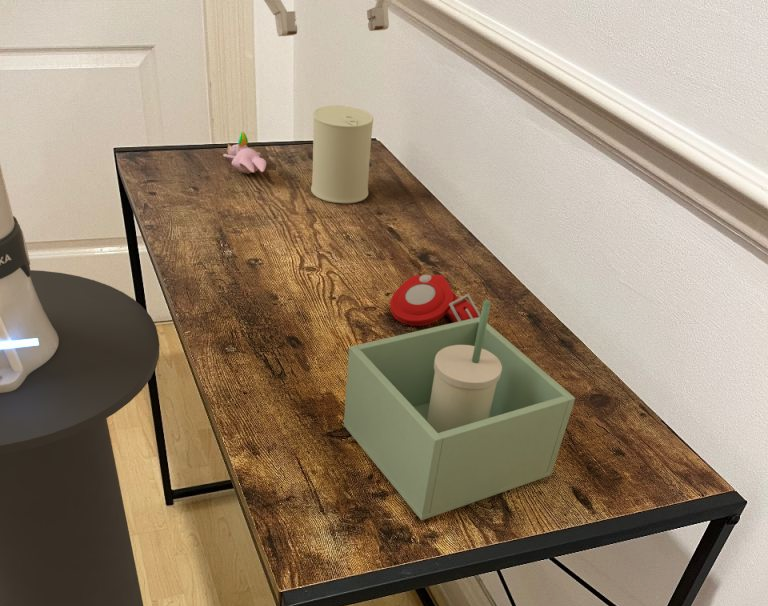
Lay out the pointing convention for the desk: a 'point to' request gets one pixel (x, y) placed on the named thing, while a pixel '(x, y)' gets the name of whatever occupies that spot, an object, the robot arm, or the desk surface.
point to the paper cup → (464, 382)
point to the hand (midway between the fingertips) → (334, 32)
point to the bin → (459, 445)
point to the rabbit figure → (245, 156)
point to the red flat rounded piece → (429, 302)
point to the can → (341, 154)
